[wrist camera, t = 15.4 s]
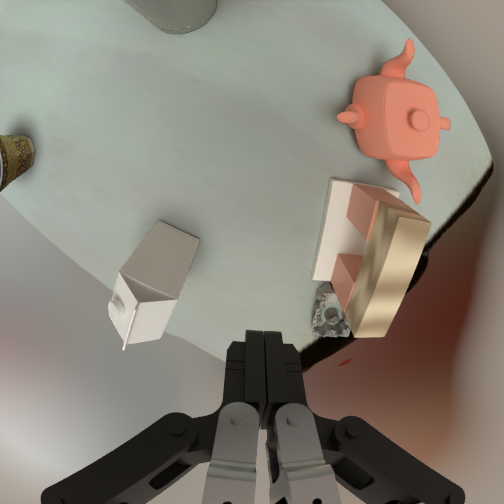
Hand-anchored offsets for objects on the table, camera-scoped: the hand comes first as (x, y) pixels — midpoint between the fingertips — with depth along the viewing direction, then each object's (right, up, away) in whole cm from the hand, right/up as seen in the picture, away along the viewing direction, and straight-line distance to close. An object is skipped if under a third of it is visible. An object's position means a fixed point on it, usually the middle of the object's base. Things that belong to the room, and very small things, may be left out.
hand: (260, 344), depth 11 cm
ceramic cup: (-42, +21, +22) cm, 52 cm away
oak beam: (+15, +3, +21) cm, 26 cm away
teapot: (+16, +23, +21) cm, 35 cm away
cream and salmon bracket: (+15, +7, +29) cm, 34 cm away
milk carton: (-13, +5, +30) cm, 33 cm away
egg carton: (+14, -5, +36) cm, 39 cm away
